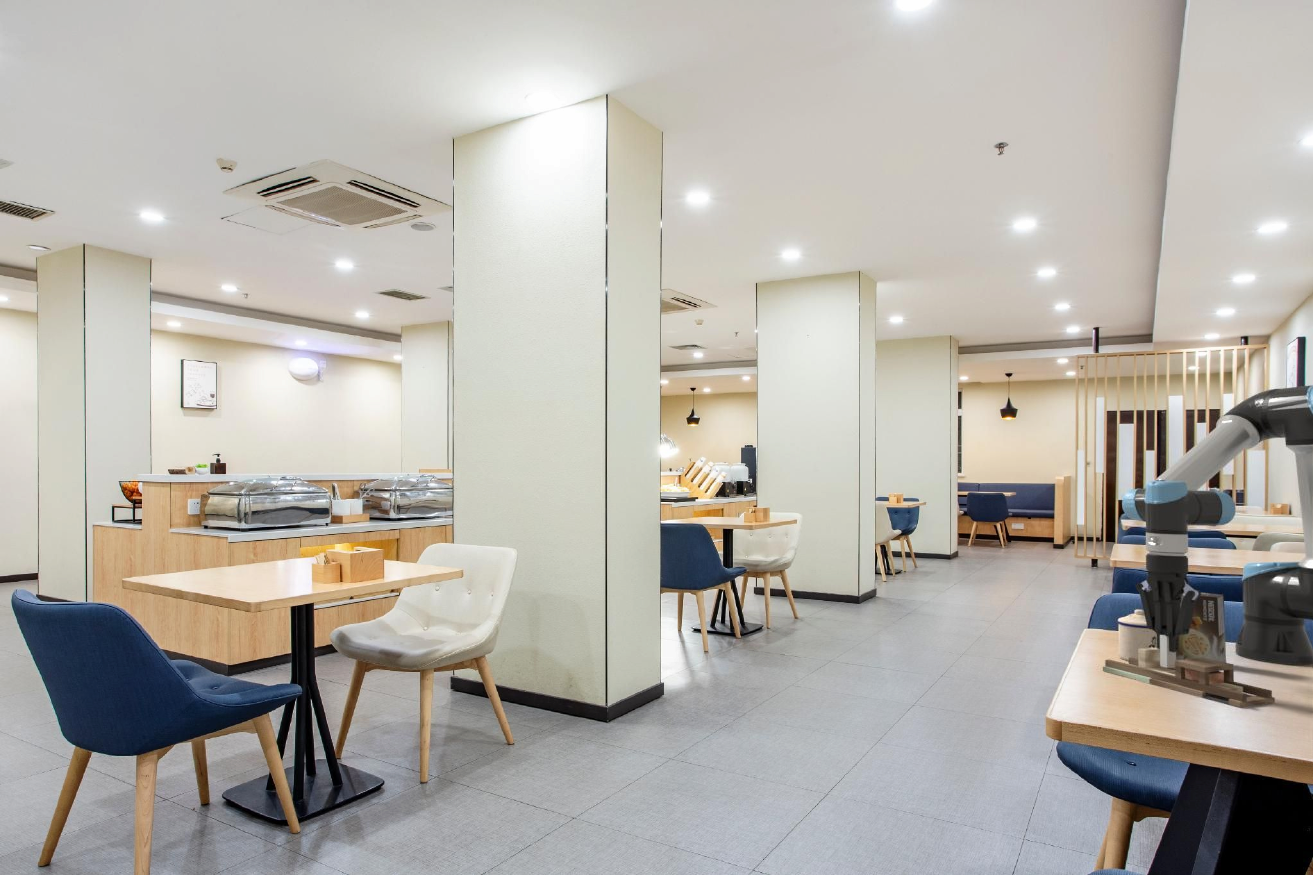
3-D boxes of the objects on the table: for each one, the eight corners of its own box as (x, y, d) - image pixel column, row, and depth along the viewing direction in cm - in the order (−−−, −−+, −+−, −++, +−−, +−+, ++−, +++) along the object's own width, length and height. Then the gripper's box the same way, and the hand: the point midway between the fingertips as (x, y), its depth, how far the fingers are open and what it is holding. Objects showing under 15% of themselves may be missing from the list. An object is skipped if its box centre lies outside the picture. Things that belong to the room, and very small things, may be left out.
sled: (1153, 669, 172) (1152, 647, 172) (1243, 692, 154) (1242, 667, 155) (1138, 671, 170) (1138, 648, 170) (1227, 694, 153) (1227, 669, 153)
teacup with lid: (1155, 666, 180) (1155, 614, 181) (1112, 659, 187) (1111, 609, 188) (1171, 658, 188) (1171, 609, 189) (1129, 652, 195) (1128, 604, 196)
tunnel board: (1135, 667, 179) (1134, 641, 179) (1274, 702, 152) (1274, 672, 152) (1102, 671, 175) (1102, 644, 175) (1239, 707, 148) (1239, 676, 148)
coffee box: (1227, 664, 184) (1226, 594, 184) (1220, 668, 179) (1219, 597, 180) (1181, 657, 190) (1180, 589, 191) (1173, 661, 186) (1172, 592, 187)
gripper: (1125, 551, 172) (1126, 660, 171) (1184, 557, 160) (1186, 675, 159) (1150, 550, 175) (1151, 658, 174) (1209, 556, 163) (1211, 672, 161)
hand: (1168, 666), depth 166 cm, fingers closed
